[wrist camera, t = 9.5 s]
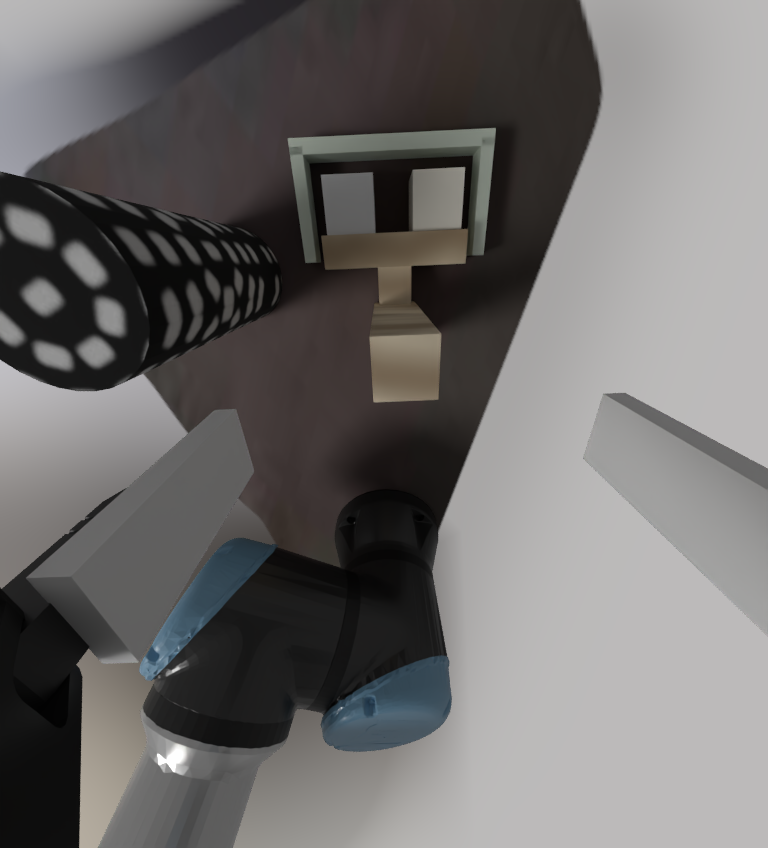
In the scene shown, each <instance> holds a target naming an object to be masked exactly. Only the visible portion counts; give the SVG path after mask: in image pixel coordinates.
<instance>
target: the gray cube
mask: <svg viewBox="0 0 768 848" xmlns="http://www.w3.org/2000/svg"><path fill="white" fill-rule="evenodd" d="M321 181H322V191H323V200H324V209H325V219H326V228H327V235H347V234H369V233H376V221H375V198H374V180H373V172H369V173H348V174H327V175H321Z"/></svg>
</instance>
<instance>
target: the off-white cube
mask: <svg viewBox="0 0 768 848" xmlns="http://www.w3.org/2000/svg"><path fill="white" fill-rule="evenodd" d="M464 177H465V167H457V168H437V169H417V170H413V171H412V174H411V176H410V179H409V232H412V231H433V230H454V229H461V224H462V208H463V193H464Z"/></svg>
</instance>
